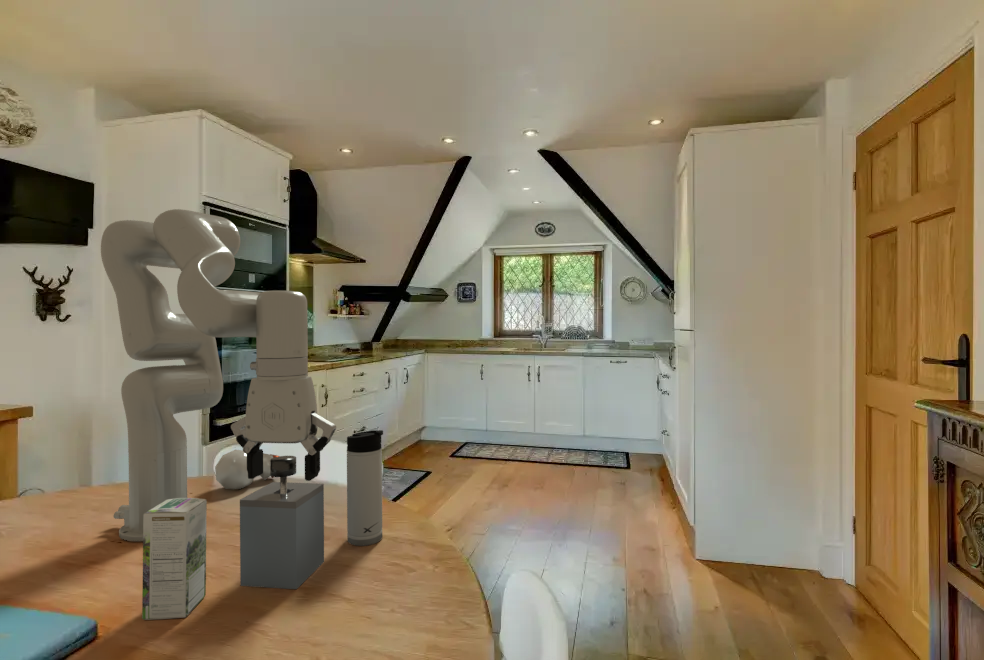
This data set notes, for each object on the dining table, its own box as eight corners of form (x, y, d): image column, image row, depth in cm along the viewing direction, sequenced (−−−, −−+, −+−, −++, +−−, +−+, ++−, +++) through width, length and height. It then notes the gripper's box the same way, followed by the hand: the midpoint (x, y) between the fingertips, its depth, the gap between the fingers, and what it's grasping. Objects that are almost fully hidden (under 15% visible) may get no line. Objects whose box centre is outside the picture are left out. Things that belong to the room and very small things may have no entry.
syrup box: (165, 598, 73) (164, 498, 73) (207, 596, 74) (207, 496, 74) (141, 621, 68) (140, 512, 68) (187, 618, 68) (187, 510, 68)
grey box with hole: (240, 585, 77) (239, 499, 77) (273, 559, 86) (272, 481, 86) (296, 589, 76) (295, 501, 76) (324, 561, 85) (323, 483, 85)
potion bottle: (211, 499, 120) (268, 490, 133) (233, 480, 117) (289, 472, 129) (202, 464, 124) (258, 458, 137) (223, 444, 120) (279, 439, 133)
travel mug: (375, 548, 90) (374, 434, 90) (341, 545, 91) (340, 433, 91) (389, 533, 96) (388, 427, 96) (357, 531, 97) (356, 426, 97)
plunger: (257, 560, 78) (256, 462, 78) (277, 544, 84) (276, 453, 84) (291, 562, 78) (290, 463, 78) (309, 546, 83) (308, 454, 83)
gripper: (216, 370, 78) (217, 482, 78) (323, 371, 76) (324, 486, 76) (246, 367, 86) (247, 469, 86) (344, 367, 83) (345, 472, 83)
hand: (283, 477), depth 81 cm, fingers open, 9 cm apart
